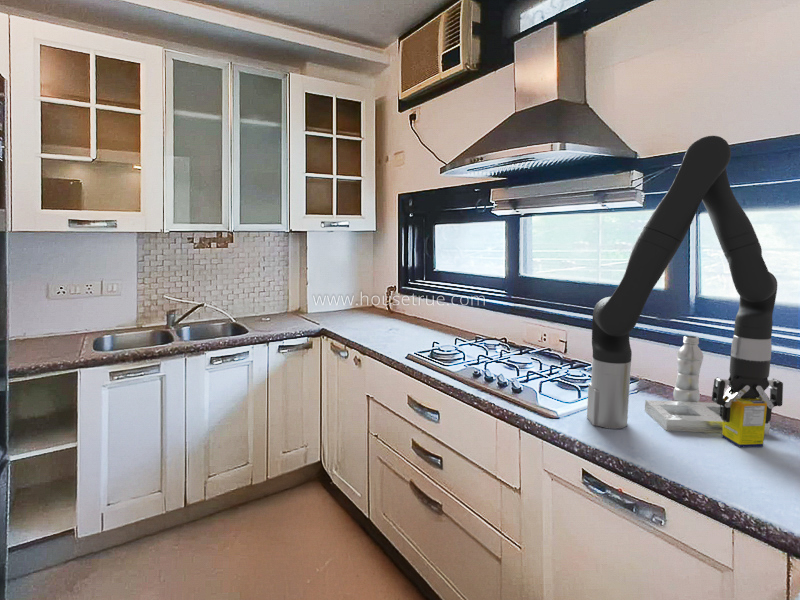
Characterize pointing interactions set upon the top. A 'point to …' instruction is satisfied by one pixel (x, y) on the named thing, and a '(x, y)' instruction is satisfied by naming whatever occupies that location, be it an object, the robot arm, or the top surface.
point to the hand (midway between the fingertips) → (744, 421)
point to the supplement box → (746, 423)
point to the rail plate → (688, 416)
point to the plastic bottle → (688, 371)
